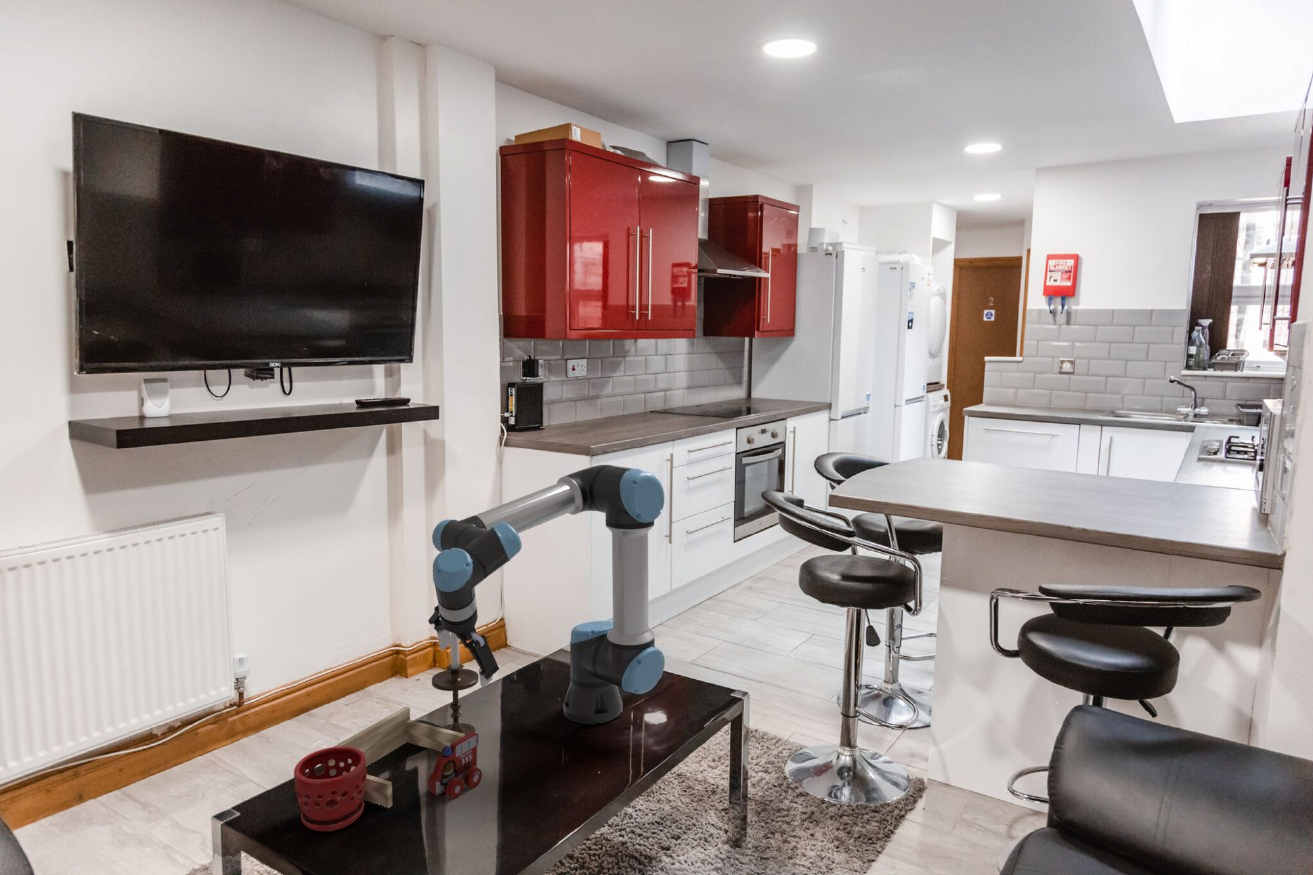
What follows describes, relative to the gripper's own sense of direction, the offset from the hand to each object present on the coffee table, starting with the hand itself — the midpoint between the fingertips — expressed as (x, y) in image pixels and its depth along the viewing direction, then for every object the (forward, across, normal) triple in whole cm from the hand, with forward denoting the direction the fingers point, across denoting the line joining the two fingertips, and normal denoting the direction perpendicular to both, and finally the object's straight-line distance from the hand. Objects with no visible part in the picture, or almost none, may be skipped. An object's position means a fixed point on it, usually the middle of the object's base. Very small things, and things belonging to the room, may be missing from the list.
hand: (465, 664), depth 183 cm
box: (+16, +1, -22) cm, 27 cm away
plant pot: (+5, +5, -38) cm, 39 cm away
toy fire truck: (+11, +15, -17) cm, 26 cm away
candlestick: (+26, 0, -5) cm, 26 cm away
